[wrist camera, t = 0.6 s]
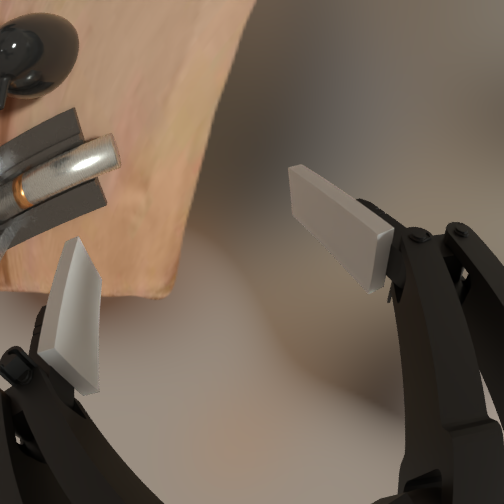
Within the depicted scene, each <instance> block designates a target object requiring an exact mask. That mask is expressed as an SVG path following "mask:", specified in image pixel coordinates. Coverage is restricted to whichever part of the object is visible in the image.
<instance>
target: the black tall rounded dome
mask: <svg viewBox="0 0 504 504" xmlns="http://www.w3.org/2000/svg"><path fill="white" fill-rule="evenodd" d="M78 51H79V39H78V34H77V31H76V29H75V28H74V26H73V25H72V24H71V23H70V22H69V21H68V20H67V19H65V18H63V17H61V16H58V15H55V14H50V13H31V14H26V15H22V16H19V17H17V18H14V19H12V20H10V21H8V22H6V23H5V24H3V25H2V26H0V110H2V109H3V108H4V107H5V102H6V98H7V97H10V98H15V99H34V98H38V97H41V96H44V95H46V94H48V93H50V92H51V91H53V90H54V89H56V88H57V87H58V86H59V85H60V84H61V83H62V82H63V81H64V80H65V79H66V78H67V76H68V75H69V73H70V72H71V70H72V68H73V66H74V64H75V62H76V59H77V56H78Z"/></svg>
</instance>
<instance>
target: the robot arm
mask: <svg viewBox="0 0 504 504" xmlns="http://www.w3.org/2000/svg"><path fill="white" fill-rule="evenodd" d="M288 172H289V181H290V193H291V204H292V215H293V216H294V217H295V218H296V219H297V220H298V221H299V222H300V223H301V224H302V225H303V226H304V227H305V228H306V229H307V230H308V231H309V232H310V233H311V234H312V235H313V236H314V237H315V238H316V239H317V240H318V241H319V242H320V243H321V244H322V245H323V246H324V247H325V249H327V250H328V252H330V254H331V255H333V257H334V258H335V259H336V260H337V261H338V262H339V263H340V264H341V265H342V266H343V267H344V268H345V269H346V270H347V271H348V273H350V275H351V276H352V277H353V278H354V279H355V280H356V281H357V282H358V283H359V284H360V285H361V287H362V288H364V290H365V291H366V292H367V293H368V294H370V293H372V292H374V291H376V290H378V289H380V288H382V287H384V282H385V278H386V275H387V276H388V277H389V278H390V279H391V280H392V283H391V287H390V291H389V296H388V301H387V302H388V303H390V300H391V297H392V299H393V305H394V311H395V317H396V324H397V331H398V338H399V345H400V355H401V364H402V375H403V388H404V404H405V455H404V458H403V460H402V463H401V466H400V472H399V483H398V494H397V495H393V496H389V497H385V498H381V499H379V500H377V501H375V502H374V503H372V504H504V441H503V433H502V429H501V426H500V424H499V423H498V422H497V421H495V420H493V419H491V418H489V416H488V414H487V410H486V403H485V397H484V391H483V386H482V381H481V376H480V372H481V374H482V376H483V379H484V381H485V383H486V386H487V388H488V390H489V393H490V395H491V398H492V400H493V403H494V405H495V408H496V411H497V413H498V416H499V419H500V422H501V425H502V428H503V430H504V266H503V265H502V263H501V262H500V261H499V260H498V259H497V257H496V256H495V255H494V254H493V253H492V251H491V250H490V249H489V248H488V247H487V246H486V244H485V243H484V242H483V241H482V240H481V239H480V238H479V237H478V235H477V234H476V233H475V232H474V231H473V230H472V229H471V228H470V227H468V226H467V225H465V224H463V223H460V222H452V223H449V224H448V225H447V227H446V231H445V234H442V235H434V236H433V235H432V234H431V233H430V232H428V231H427V230H425V229H422V228H418V227H409V228H406V227H404V226H403V225H402V224H400V223H399V222H398V221H396V220H395V219H394V218H392V217H391V216H389V215H388V214H385V212H384V211H382V210H381V209H379V208H378V207H377V206H375V205H374V204H372V203H371V202H369V201H366V200H363V199H356V200H355V199H354V198H352V197H351V196H349V195H348V194H346V193H345V192H344V191H342V190H341V189H339V188H338V187H336V186H335V185H333V184H332V183H330V182H328V181H327V180H325V179H324V178H323V177H321V176H319V175H318V174H316V173H315V172H313V171H311V170H310V169H308V168H307V167H305V166H304V165H302V164H301V165H297V166H293V167H289V168H288ZM464 268H465V269H466V271H467V272H468V273H469V274H468V276H467V278H466V279H465V278H464V277H463V276H462V274H463V271H464ZM101 286H102V279H101V277H100V275H99V273H98V272H97V270H96V268H95V266H94V264H93V263H92V261H91V259H90V257H89V255H88V253H87V251H86V250H85V248H84V246H83V244H82V242H81V240H80V238H79V236H78V237H75V238H73V239H70V240H68V241H66V242H65V245H64V248H63V251H62V254H61V257H60V260H59V263H58V266H57V270H56V273H55V276H54V280H53V283H52V287H51V291H50V294H49V298H48V302H47V305H46V306H43V307H42V308H41V310H40V312H39V314H38V315H37V318H36V322H35V328H34V331H33V337H32V340H31V345H30V350H29V356H28V355H27V354H26V353H25V352H24V351H23V349H22V348H21V347H19V346H14V347H11V348H10V349H8V350H7V351H6V352H5V353H4V354H3V356H2V358H1V360H0V375H1V376H2V377H3V378H4V379H6V380H7V381H8V382H9V383H10V384H11V385H12V387H10V388H9V389H7V390H6V391H3V390H1V389H0V504H164V503H163V502H162V501H161V500H160V499H159V498H158V497H157V496H156V495H155V494H154V493H153V492H152V491H151V490H150V489H149V488H148V487H147V486H146V485H145V484H144V483H143V482H142V481H141V480H140V479H139V478H138V477H137V476H136V475H135V473H134V472H133V471H132V470H131V469H130V468H129V467H128V466H127V464H126V463H125V462H124V461H123V460H122V459H121V457H120V456H119V455H118V454H117V453H116V451H115V450H114V449H113V448H112V446H111V445H110V444H109V443H108V442H107V440H106V439H105V437H104V436H103V435H102V433H101V432H100V431H99V430H98V428H97V427H96V425H95V424H94V422H93V421H92V420H91V419H90V417H89V415H88V414H87V412H86V411H85V409H84V408H83V406H82V405H81V403H80V402H79V401H78V400H77V399H75V398H74V388H75V389H76V390H77V391H78V392H79V393H80V394H82V395H83V396H84V395H89V394H93V393H98V392H99V358H98V357H99V352H98V351H99V349H98V347H99V316H100V298H101ZM479 370H480V371H479ZM15 435H16V436H17V437H19V438H20V442H21V444H18V443H17V442H16V437H15Z"/></svg>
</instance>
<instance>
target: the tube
mask: <svg viewBox="0 0 504 504" xmlns="http://www.w3.org/2000/svg"><path fill="white" fill-rule="evenodd" d="M118 168H121V159H120V155H119V151H118V147H117V144H116V141H115V139H114V136H113V135H112V133H110V134H107V135H104V136H102V137H99V138H97V139H94V140H92V141H90V142H87V143H85V144H82V145H80V146H78V147H76V148H73V149H71V150H69V151H67V152H64V153H62V154H60V155H58V156H56V157H54V158H52V159H50V160H48V161H46V162H44V163H42V164H40V165H38V166H36V167H34V168H32V169H30V170H28V171H27V172H25V173H23V174H21V175H19V176H17V177H16V178H14V179H12V180H11V181H9V182H7V183H5V184H4V185H2V186H0V220H2V221H5V220H7V219H8V218H10V217H12V216H14V215H16V214H18V213H19V212H21V211H23V210H25V209H27V208H29V207H31V206H33V205H35V204H37V203H39V202H41V201H43V200H45V199H47V198H49V197H52V196H54V195H56V194H58V193H60V192H62V191H65V190H67V189H69V188H71V187H74V186H76V185H78V184H80V183H83V182H85V181H88V180H90V179H92V178H95V177H97V176H100V175H102V174H105V173H107V172H110V171H113V170H115V169H118Z"/></svg>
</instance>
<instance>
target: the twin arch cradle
mask: <svg viewBox="0 0 504 504" xmlns="http://www.w3.org/2000/svg"><path fill="white" fill-rule="evenodd" d="M82 144H85V140H84V136H83V133H82V130H81V127H80V123H79V120H78V117H77V113H76V110H75V107H74V108H72V109H70V110H68V111H65V112H63V113H61V114H59V115H57V116H55V117H53V118H51V119H49V120H47V121H45V122H43V123H41V124H39V125H37V126H35V127H33V128H32V129H30V130H28V131H26V132H24V133H23V134H21V135H19V136H17V137H16V138H14V139H12V140H11V141H9V142H7V143H6V144H4V145H3V146H1V147H0V186H2V185H4V184H5V183H7V182H9V181H11V180H12V179H14V178H16V177H17V176H19V175H21V174H23V173H25V172H27V171H28V170H30V169H32V168H34V167H36V166H38V165H40V164H42V163H44V162H46V161H48V160H50V159H52V158H54V157H56V156H58V155H60V154H62V153H64V152H67V151H69V150H71V149H73V148H76V147H78V146H80V145H82ZM106 205H107V200H106V198H105V195H104V193H103V190H102V188H101V185H100V182H99V180H98V177H95V178H92V179H90V180H88V181H85V182H83V183H80V184H78V185H76V186H74V187H71V188H69V189H67V190H65V191H62V192H60V193H58V194H56V195H54V196H52V197H49V198H47V199H45V200H43V201H41V202H39V203H37V204H35V205H33V206H31V207H29V208H27V209H25V210H23V211H21V212H19V213H18V214H16V215H14V216H12V217H10V218H8V219H7V220H5V221H2V220H0V261H1V259H2V257H3V255H4V254H5V252H6V250H7V249H9V248H11V247H13V246H15V245H17V244H19V243H21V242H23V241H26V240H28V239H30V238H32V237H34V236H36V235H38V234H40V233H42V232H45V231H47V230H49V229H51V228H53V227H56V226H58V225H60V224H62V223H65V222H67V221H69V220H72V219H74V218H76V217H79V216H81V215H84V214H86V213H89V212H91V211H94V210H96V209H99V208H101V207H104V206H106Z"/></svg>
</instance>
